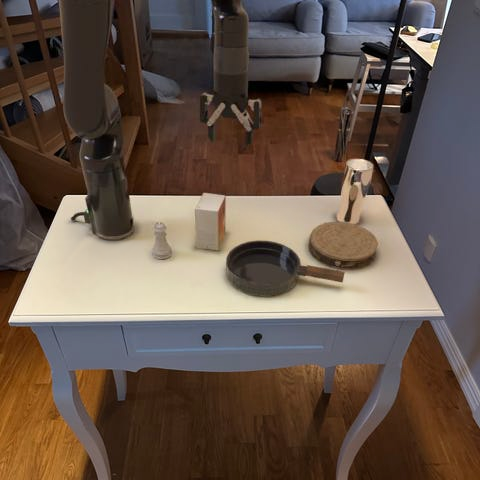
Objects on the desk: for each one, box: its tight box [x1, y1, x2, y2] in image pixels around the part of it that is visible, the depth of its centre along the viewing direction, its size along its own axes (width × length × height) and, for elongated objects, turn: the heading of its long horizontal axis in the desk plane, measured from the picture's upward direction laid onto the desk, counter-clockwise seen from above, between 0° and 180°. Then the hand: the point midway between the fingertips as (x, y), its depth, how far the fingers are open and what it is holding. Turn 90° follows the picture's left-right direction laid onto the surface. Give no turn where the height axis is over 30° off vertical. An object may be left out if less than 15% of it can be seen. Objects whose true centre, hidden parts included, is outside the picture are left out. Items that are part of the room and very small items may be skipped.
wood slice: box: [308, 221, 379, 271], centre depth 107 cm, size 16×16×3 cm
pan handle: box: [298, 264, 346, 283], centre depth 96 cm, size 10×2×2 cm, turn 74°
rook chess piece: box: [151, 221, 173, 260], centre depth 102 cm, size 4×4×8 cm
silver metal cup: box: [335, 158, 374, 225], centre depth 114 cm, size 7×7×15 cm
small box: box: [194, 192, 227, 251], centre depth 106 cm, size 8×6×10 cm
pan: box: [225, 239, 302, 297], centre depth 99 cm, size 16×16×4 cm
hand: (230, 143), depth 107 cm, fingers open, 8 cm apart
